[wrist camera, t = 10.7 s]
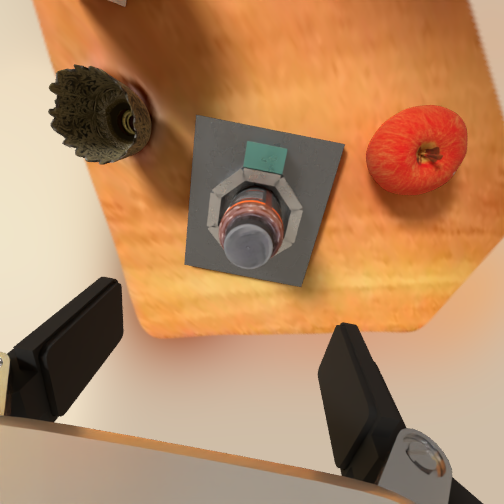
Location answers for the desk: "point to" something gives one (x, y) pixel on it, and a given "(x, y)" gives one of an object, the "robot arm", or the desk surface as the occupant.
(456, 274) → the desk surface
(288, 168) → the hub plate
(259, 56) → the desk surface
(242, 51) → the desk surface
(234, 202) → the supplement bottle
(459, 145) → the apple
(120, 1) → the skincare box
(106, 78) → the cup
